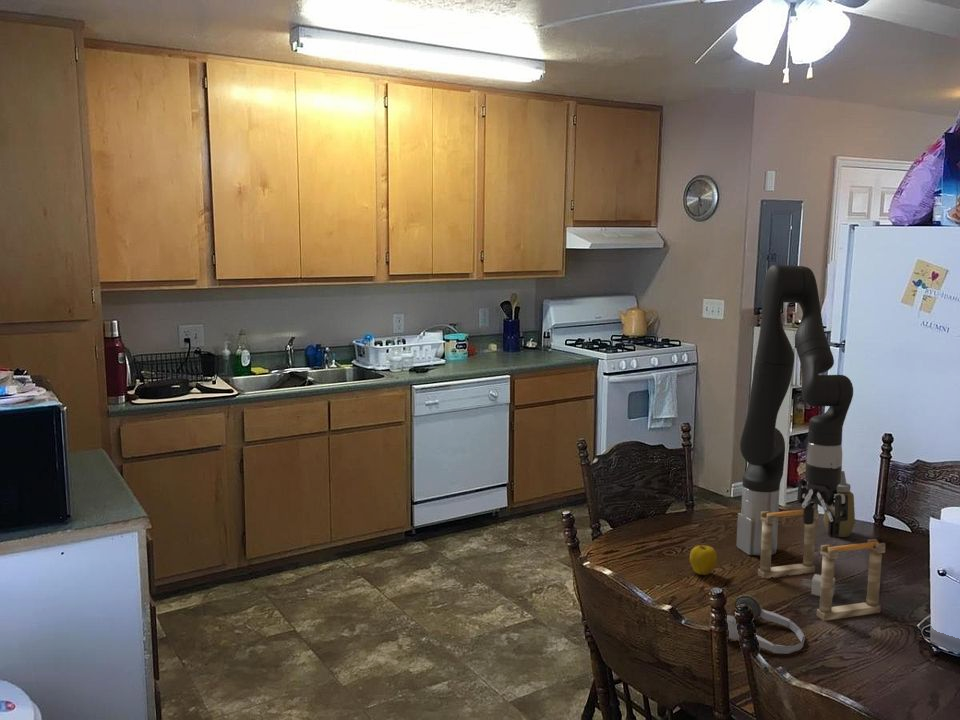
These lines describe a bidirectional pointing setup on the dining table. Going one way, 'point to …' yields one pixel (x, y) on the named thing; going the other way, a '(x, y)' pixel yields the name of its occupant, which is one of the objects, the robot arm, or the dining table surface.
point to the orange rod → (854, 546)
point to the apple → (703, 559)
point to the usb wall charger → (816, 584)
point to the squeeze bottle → (844, 525)
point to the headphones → (767, 616)
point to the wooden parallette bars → (823, 570)
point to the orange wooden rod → (787, 513)
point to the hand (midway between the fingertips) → (820, 530)
